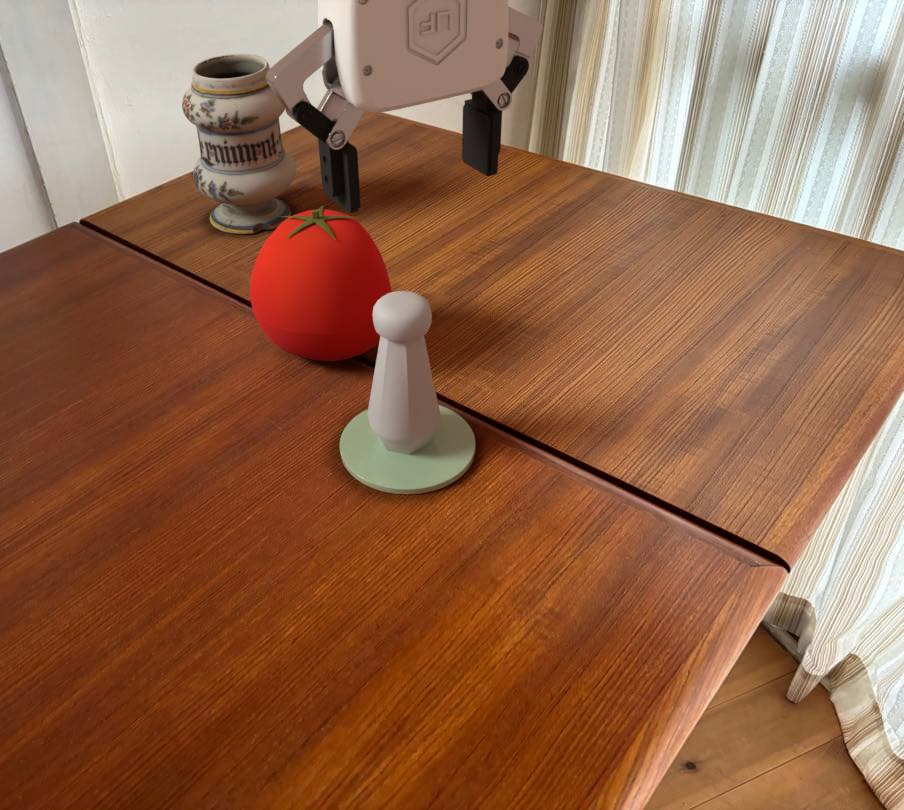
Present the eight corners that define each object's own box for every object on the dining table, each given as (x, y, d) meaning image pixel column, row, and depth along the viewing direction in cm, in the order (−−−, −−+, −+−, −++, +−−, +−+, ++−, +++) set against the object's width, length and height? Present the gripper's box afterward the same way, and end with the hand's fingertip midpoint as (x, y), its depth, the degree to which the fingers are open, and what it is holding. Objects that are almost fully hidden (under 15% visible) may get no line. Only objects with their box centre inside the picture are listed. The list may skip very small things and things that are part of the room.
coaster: (487, 416, 71) (488, 411, 71) (458, 506, 63) (458, 501, 63) (364, 396, 74) (363, 390, 74) (320, 479, 66) (320, 474, 66)
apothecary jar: (223, 249, 97) (196, 90, 86) (187, 210, 105) (159, 61, 94) (317, 222, 101) (303, 67, 90) (275, 187, 110) (258, 41, 99)
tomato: (396, 320, 84) (393, 185, 75) (389, 390, 75) (384, 246, 66) (271, 319, 85) (253, 186, 76) (249, 388, 76) (226, 246, 67)
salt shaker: (429, 468, 66) (429, 328, 58) (359, 454, 68) (350, 316, 59) (447, 421, 70) (450, 285, 62) (382, 410, 72) (376, 276, 64)
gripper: (276, -112, 37) (312, 244, 47) (594, -151, 43) (563, 175, 53) (220, -125, 42) (263, 197, 53) (509, -158, 48) (496, 139, 58)
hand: (413, 186), depth 53 cm, fingers open, 9 cm apart
